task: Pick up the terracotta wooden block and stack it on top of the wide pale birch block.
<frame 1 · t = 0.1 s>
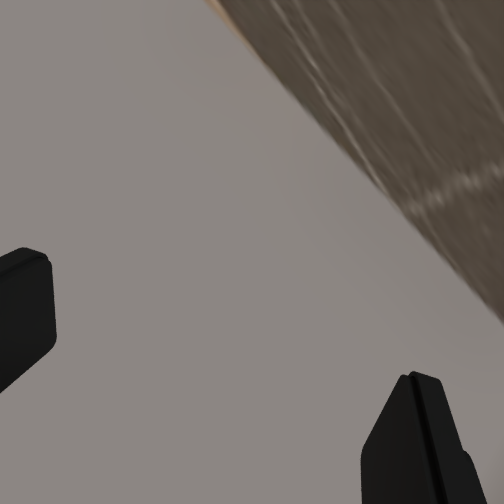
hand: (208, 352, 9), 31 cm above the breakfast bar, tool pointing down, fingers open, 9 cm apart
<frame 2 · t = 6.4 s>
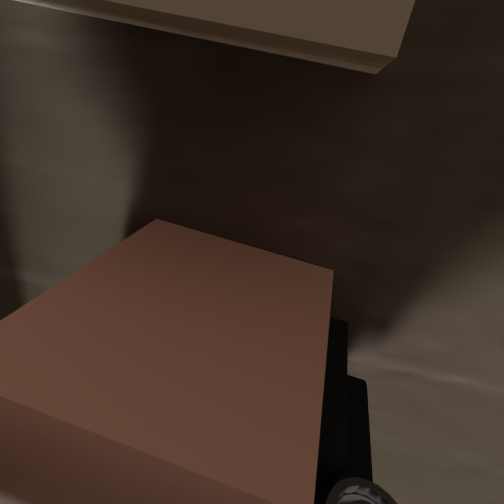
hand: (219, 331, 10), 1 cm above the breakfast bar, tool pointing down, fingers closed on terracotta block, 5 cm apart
terracotta block: (226, 317, 11), on the breakfast bar, touching gripper
when the fingers open (6 cm above the breakfast bar, at t = 12.2 s): terracotta block drops 2 cm, resting on birch block.
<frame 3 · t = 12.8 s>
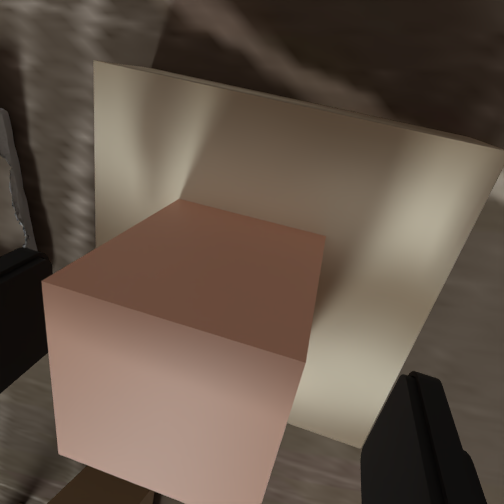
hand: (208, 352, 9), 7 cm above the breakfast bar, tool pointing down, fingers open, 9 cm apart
birch block: (268, 241, 16), on the breakfast bar, touching terracotta block
terracotta block: (238, 282, 13), point 4 cm above the breakfast bar, touching birch block
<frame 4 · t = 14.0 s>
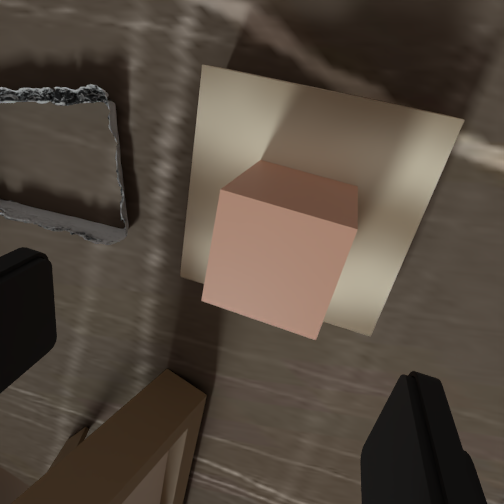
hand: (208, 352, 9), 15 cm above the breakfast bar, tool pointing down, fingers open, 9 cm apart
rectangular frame: (55, 155, 26), on the breakfast bar
birch block: (304, 193, 22), on the breakfast bar, touching terracotta block
photo frame: (129, 430, 37), on the breakfast bar
terracotta block: (295, 218, 19), point 3 cm above the breakfast bar, touching birch block
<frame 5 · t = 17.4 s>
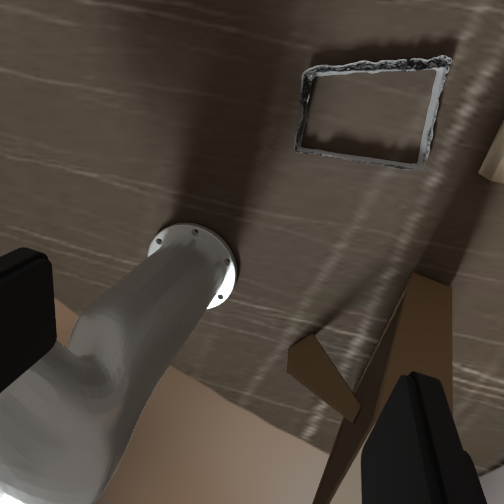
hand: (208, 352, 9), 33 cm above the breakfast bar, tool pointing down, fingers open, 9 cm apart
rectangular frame: (364, 112, 36), on the breakfast bar
photo frame: (353, 333, 47), on the breakfast bar
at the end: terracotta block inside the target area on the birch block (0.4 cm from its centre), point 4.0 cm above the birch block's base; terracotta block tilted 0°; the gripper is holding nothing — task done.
